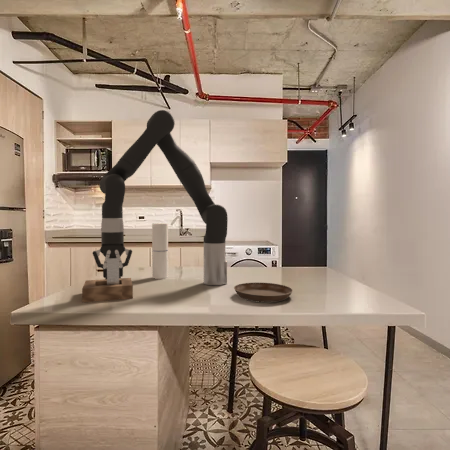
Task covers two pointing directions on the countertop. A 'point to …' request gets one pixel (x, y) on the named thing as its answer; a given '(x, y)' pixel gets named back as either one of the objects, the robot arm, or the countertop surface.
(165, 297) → the countertop surface
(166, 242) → the cylindrical container
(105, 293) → the well block
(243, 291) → the plant saucer
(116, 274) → the grey block
